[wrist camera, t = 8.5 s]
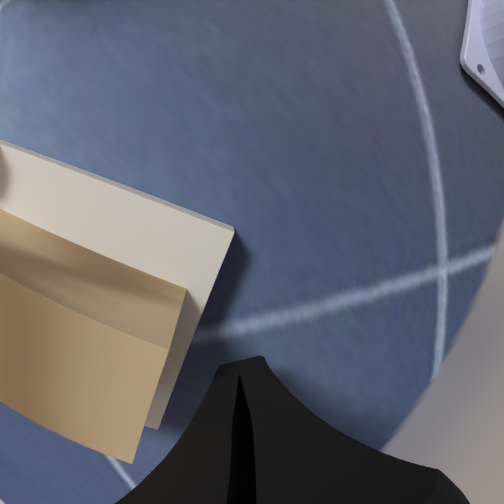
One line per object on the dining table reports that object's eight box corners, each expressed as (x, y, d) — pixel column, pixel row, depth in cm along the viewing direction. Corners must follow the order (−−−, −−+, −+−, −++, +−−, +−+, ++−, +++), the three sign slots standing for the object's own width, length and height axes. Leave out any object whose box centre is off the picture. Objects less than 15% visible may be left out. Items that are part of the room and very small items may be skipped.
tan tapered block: (186, 288, 9) (169, 349, 6) (151, 388, 10) (132, 463, 6) (-1, 208, 8) (-72, 226, 5) (-12, 310, 9) (-67, 351, 5)
